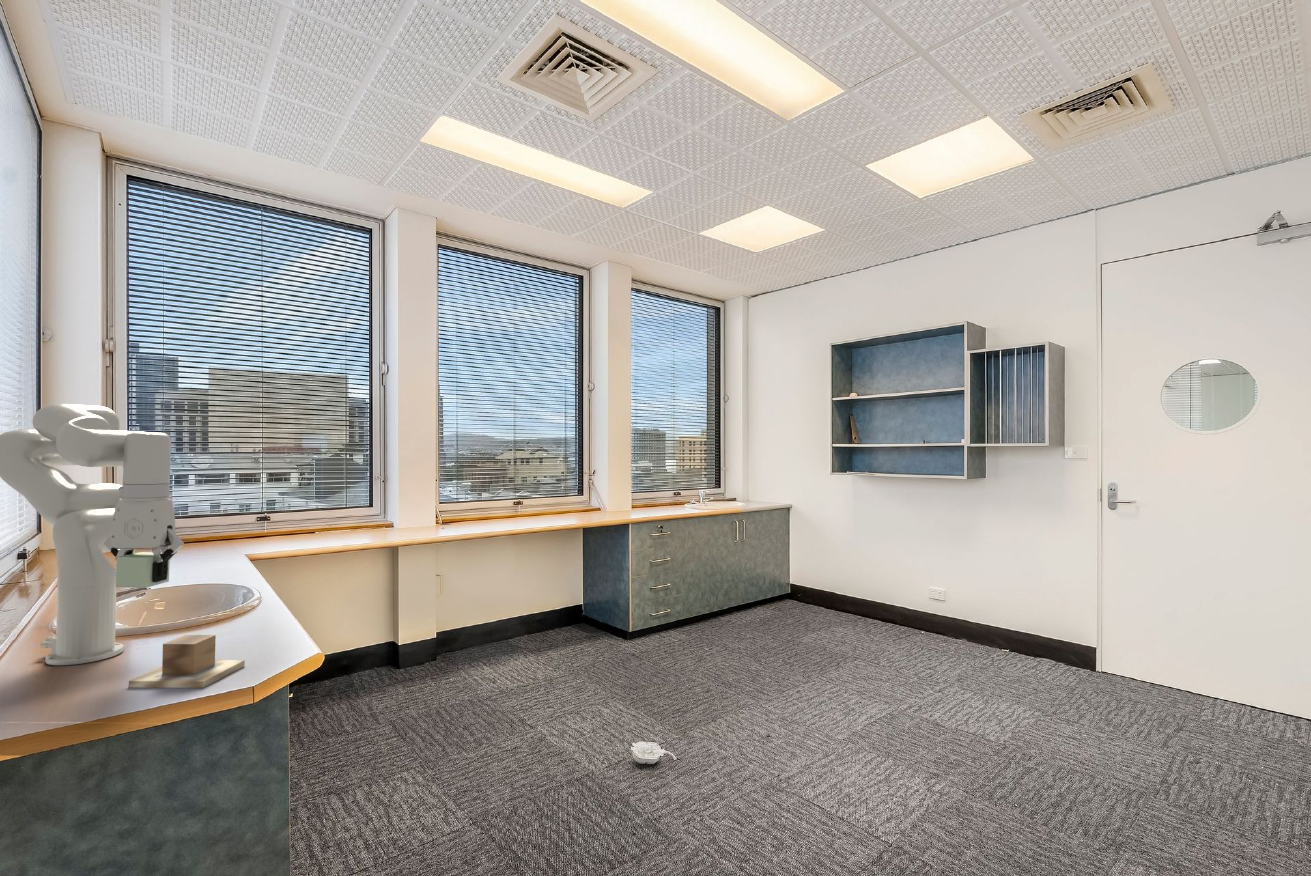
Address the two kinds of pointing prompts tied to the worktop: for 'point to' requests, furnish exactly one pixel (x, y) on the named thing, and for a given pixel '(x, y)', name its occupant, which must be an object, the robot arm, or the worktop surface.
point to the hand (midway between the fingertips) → (143, 579)
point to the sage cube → (136, 570)
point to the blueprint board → (187, 676)
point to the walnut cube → (188, 655)
